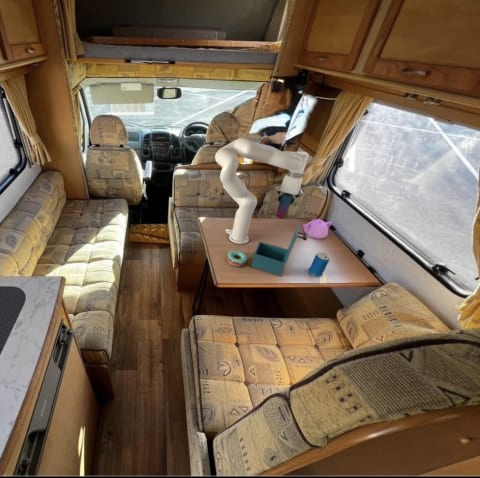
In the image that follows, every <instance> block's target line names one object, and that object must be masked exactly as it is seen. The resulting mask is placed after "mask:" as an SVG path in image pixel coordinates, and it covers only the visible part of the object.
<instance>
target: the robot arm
mask: <svg viewBox="0 0 480 478" xmlns="http://www.w3.org/2000/svg"><path fill="white" fill-rule="evenodd" d="M238 155H240V156H241V157H243V158H245V159H248V160H253V161H257V162H261V163H265V164H268V165H270V166H274V167H277V168H280V169H284V170H288V171H287V173H285V175H284V177H283V180H282V182H281V184H279V185H278V186H276V187H275V191H276V192H277V194H278V198H277V201H278V203H280V200H281V195H282V194H283V193H284V192H285V193H289V194H293V199H292V200H291V203H290V206H291V205H292V204H294V203H295V199H297V198H299V197H301V196H303V195H304V192H303V191H302V189H301V186H302V183H303V177H305V176H306V173H304V171H305V167H306V165H307V162H308V159H309V156H310V155H309V153H308V152H306V151H301V150H300V151H299V150H298V151H297V150H296V151H290V150H283V151H282V150H281V149H278V148H276V147H274V146H271V145H268V144H264V143H260V142H256V141H253V140H250V139H249V138H247V137H239V138H237V139H235V140H233V141H231V142H230V143H228V144H226V145H224V146H222V147H221V148H219V149H218V150H217V151H216V152H215V155H214V160H215V162H216V163H217V165H219V166H220V167H221V171H220V174H219V180H220V182H221V183H222V187H223V189H224V191H226V193H227V194H228V195H229V196H230V197H231V199H232V200H233V201H234V202H235V203H236V204H238V206H239V207H238V209H236V212H235V216H234V221H233V226H232V229H229V228H225V231H224V232H225V233H226V234H227V235H228V239H229V241H230V242H232V243H234V244H237V245H245V244H247V243H248V242H249V240H250V237H249V236H248V233H249V231H250V226H251V222H252V218H253V214H254V211H255V209H256V208H257V205H258V199H257V197H256V196H255V195H254V194H253V193H252V192H250V190H248V189H247V186H246V184H245V183H244V181H242V180H241V178H240V177H239V176H238V174H237V171H238V168H239V164H240V161H239V158H238Z"/></svg>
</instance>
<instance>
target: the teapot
mask: <svg viewBox="0 0 480 478" xmlns="http://www.w3.org/2000/svg"><path fill="white" fill-rule="evenodd" d="M332 223H333V222H332V221H324V220H323V219H319V218H318V219H312V220H311V221H309V222H307V223H304V224H302V228H303V230H304V233H305V232H306V233H307V234H308V235H307V237H309V238H312V239H317V240H322V239H324V238H327V236H328V234H329V228H330V227H331V225H332Z"/></svg>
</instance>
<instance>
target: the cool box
mask: <svg viewBox="0 0 480 478" xmlns="http://www.w3.org/2000/svg"><path fill="white" fill-rule="evenodd" d="M287 250H288V248H284V247H280V246H278V245H274V244H270V243H266V242H263V241H259V242H258V244H257V246H256V249H255V251H254V253H253V257H252V260H251V264H250V268H254V269H256V270H260V271H263V272H266V273H269V274H272V275H275V276H279V277H281V276H282V273H283V270H284V267H285V264H286V263H285V259H286V255H287Z"/></svg>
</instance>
